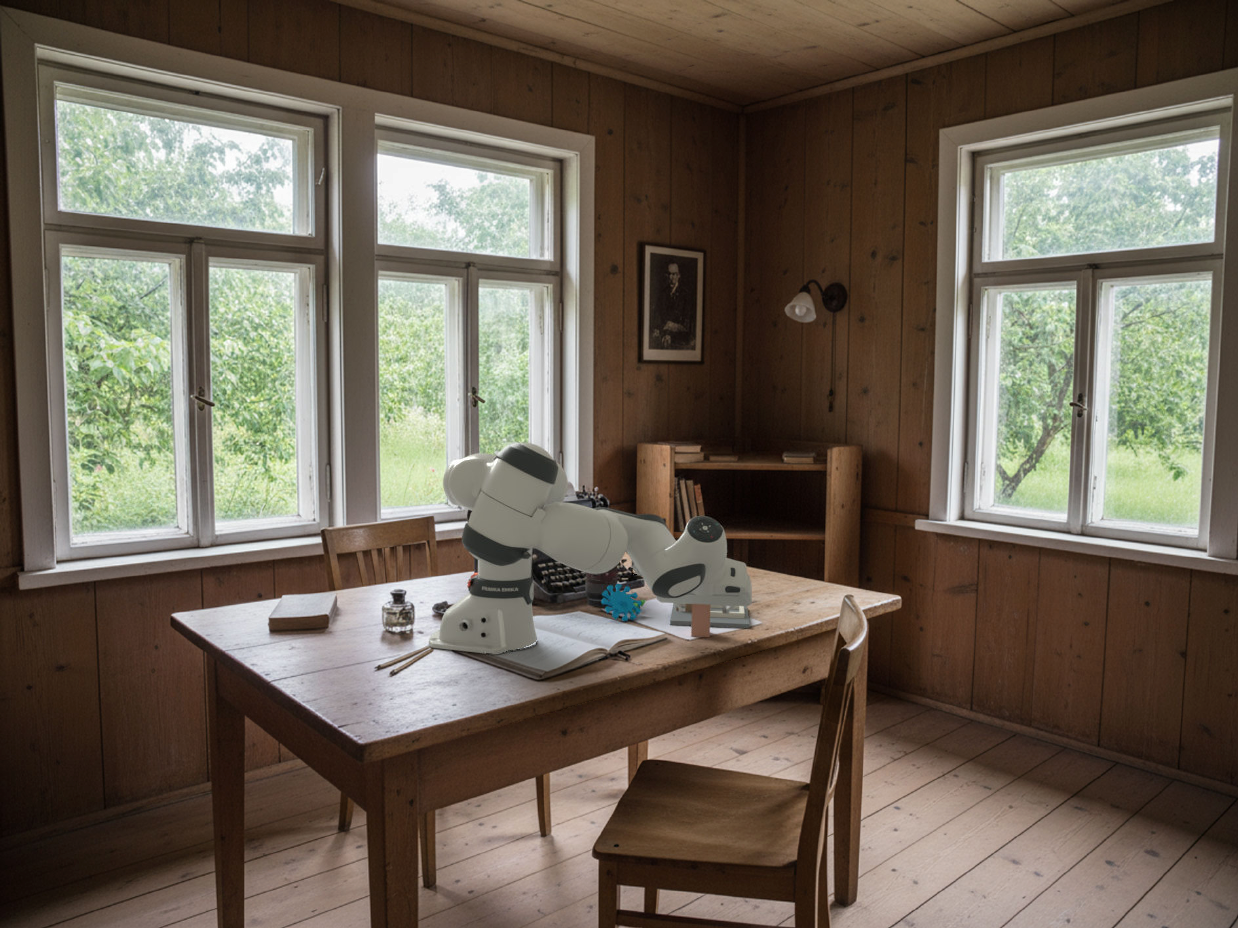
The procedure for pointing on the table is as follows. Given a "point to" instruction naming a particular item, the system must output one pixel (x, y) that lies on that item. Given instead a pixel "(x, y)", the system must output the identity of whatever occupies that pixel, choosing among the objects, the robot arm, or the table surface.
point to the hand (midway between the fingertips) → (703, 609)
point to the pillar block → (700, 620)
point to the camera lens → (600, 586)
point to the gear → (622, 602)
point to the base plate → (713, 616)
